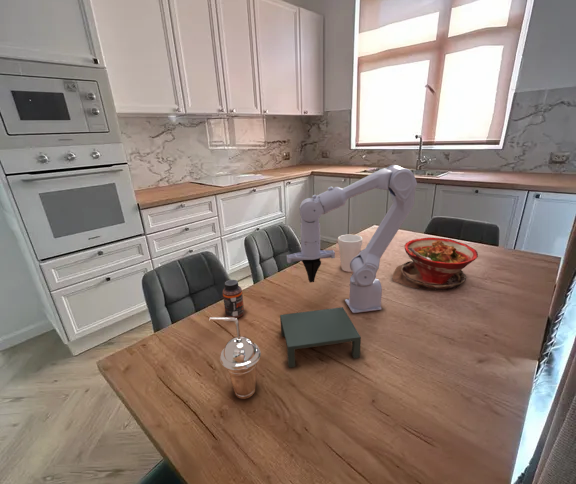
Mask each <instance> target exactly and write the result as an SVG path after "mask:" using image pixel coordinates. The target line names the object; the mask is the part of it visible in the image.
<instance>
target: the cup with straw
mask: <svg viewBox="0 0 576 484" xmlns="http://www.w3.org/2000/svg"><path fill="white" fill-rule="evenodd" d="M208 319H209V320H208V321H209V322H234V324H235V333H236V336H234V337H233V338H230V339H229V340H228V341H227V342H226V344H225V346H224V347H223V349H222V350H221V351H220V357H219V362H220V364H221V365H222V366H223V367H224V368H226V371H227V373H228V375H229V378H230V382H231V385H232V388H233V392H234V396H235V397H237V398H238V399H241V400H245V399H249V398H251V397H252V396H254V394H255V392H256V377H257V364H258V362H259V360H260V358H261V356H262V352H261V350H260V346H258V344H257V343H255V342H254V341H253V340H252V339H251V338H249V337H247V336H245V335H244V336H243V335H241V330H240V322H239V320H238V318H234V317H227V316H226V317H225V316H222V317H221V316H219V317H217V316H214V317H213V316H210V317H209V318H208Z"/></svg>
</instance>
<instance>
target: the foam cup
mask: <svg viewBox="0 0 576 484" xmlns="http://www.w3.org/2000/svg"><path fill="white" fill-rule="evenodd" d="M363 240H364V239H363V237H362V236H361V235H359V234H350V233H349V234H348V233H347V234H342V235H339V236H338V237H337V245H338V253H339V261H340V269H341V270H342V271H344V272H347V273H348V272H349V273H352V271H351V269H350V262H351V260H352V259H353V258H354V257H356V256H357V255H358V254H359V253H360V251H361V250H362V246H363V243H364V242H363Z"/></svg>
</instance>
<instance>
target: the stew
mask: <svg viewBox="0 0 576 484" xmlns="http://www.w3.org/2000/svg"><path fill="white" fill-rule="evenodd" d="M404 251H405V253H406V255H407V256H408V257H409V259H410V260H409V261H406V262H405V263H403V264H400V265H398V266H397V267H396V268H395V270H394V271H393V274H392V282H396V283H399V284H401V285H403V286H406V287H409V288H412V289H415V290H416V289H417V290H420V289H422V290H427V291H443V292H444V291H450V290H454V289H457V288H458V287H459V286H460V285H461V284H463V283H465V281H466V280H467V275H466V274H465V273H464V271H463V269H465V268H466V267H467V266H468V265H470V264H471V263H473V262H474V261H475V260H476V259H477V258H478V257H479V253H478V251H477V249H475V248H473V247H472V246H469V245H468V244H466V243H463V242H460V241H457V240H454V239H451V238H442V237H422V238H415V239H411V240H409V241H407V242H405V244H404ZM449 280H451V282H452V283H451V284H449Z"/></svg>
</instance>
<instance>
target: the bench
mask: <svg viewBox="0 0 576 484" xmlns="http://www.w3.org/2000/svg"><path fill="white" fill-rule="evenodd" d="M279 321H280V334H281V337H284V339H285V344H286V353H287V365H288V368H289V369H290V368H295V367H296V352H295V351H296V350H301V349H306V348H307V349H308V348H314V347H323V346H329V345H337V344H343V343H351V356H352V358H353V359H358V358H360V357H361V344H362V343H361V342H362V336H361V334H360V333H359V331H358V330H357V328H356V326H355V325H354V323H353V322H352V320H351V318H350V317H349V315H348V314H347V312H346V310H345V308H344V307H343V306H341V307H332V308H324V309H316V310H309V311H300V312H299V311H298V312H292V313H284V314H279Z"/></svg>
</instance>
